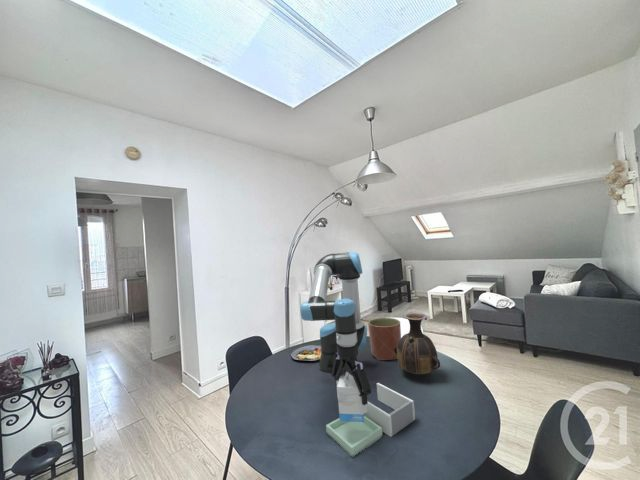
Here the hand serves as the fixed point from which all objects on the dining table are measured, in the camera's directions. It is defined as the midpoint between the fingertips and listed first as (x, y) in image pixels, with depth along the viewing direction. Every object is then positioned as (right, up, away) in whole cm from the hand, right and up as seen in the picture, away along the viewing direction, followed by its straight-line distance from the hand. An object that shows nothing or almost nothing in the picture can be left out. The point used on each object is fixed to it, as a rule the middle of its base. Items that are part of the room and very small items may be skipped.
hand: (351, 404), depth 93 cm
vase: (+39, -9, +38) cm, 55 cm away
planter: (+29, -11, +64) cm, 71 cm away
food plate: (-17, -15, +73) cm, 76 cm away
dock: (+14, -10, +9) cm, 19 cm away
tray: (+1, -11, 0) cm, 11 cm away
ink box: (0, -3, 0) cm, 3 cm away
